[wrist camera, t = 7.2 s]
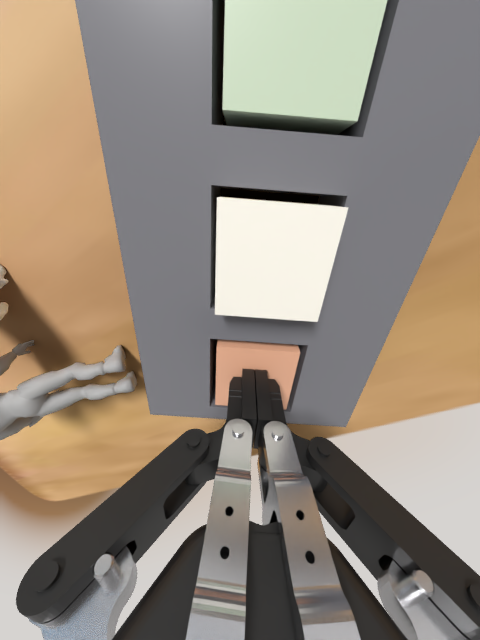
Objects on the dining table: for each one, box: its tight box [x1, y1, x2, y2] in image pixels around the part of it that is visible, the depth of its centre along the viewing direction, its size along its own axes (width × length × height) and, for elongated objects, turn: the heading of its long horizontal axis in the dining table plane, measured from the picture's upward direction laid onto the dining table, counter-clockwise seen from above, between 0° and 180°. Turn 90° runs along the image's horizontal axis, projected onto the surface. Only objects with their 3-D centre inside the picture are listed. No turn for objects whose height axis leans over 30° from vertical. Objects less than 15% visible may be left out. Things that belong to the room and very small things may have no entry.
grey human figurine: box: [0, 340, 137, 440], centre depth 18 cm, size 6×5×12 cm
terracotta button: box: [215, 339, 300, 410], centre depth 15 cm, size 5×5×3 cm
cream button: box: [215, 197, 348, 322], centre depth 11 cm, size 5×5×3 cm
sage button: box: [222, 0, 387, 135], centre depth 8 cm, size 5×5×3 cm
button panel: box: [75, 0, 480, 427], centre depth 12 cm, size 14×23×4 cm, turn 176°
